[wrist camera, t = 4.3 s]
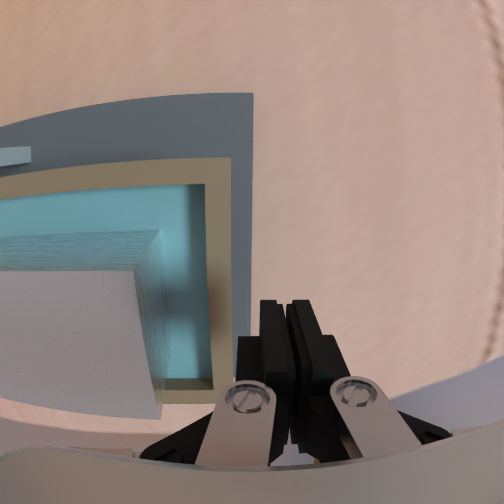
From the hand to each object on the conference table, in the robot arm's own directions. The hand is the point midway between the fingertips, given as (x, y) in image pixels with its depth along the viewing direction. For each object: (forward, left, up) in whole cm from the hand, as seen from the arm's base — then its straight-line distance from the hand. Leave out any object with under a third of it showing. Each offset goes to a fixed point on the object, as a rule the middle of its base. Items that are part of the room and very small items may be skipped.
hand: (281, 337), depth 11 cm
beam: (-18, 0, -3) cm, 18 cm away
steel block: (-9, 0, -3) cm, 9 cm away
